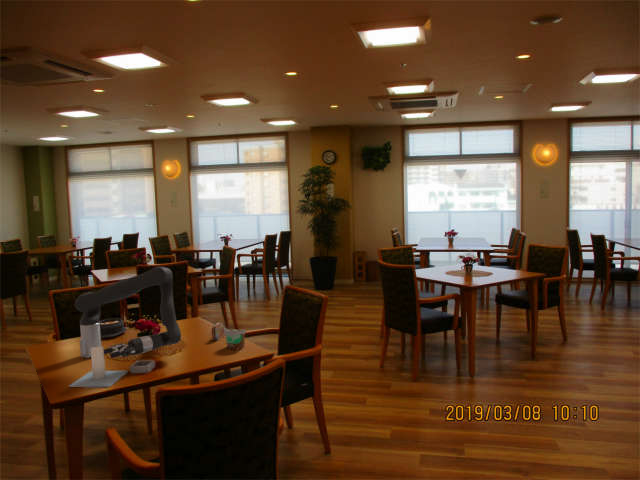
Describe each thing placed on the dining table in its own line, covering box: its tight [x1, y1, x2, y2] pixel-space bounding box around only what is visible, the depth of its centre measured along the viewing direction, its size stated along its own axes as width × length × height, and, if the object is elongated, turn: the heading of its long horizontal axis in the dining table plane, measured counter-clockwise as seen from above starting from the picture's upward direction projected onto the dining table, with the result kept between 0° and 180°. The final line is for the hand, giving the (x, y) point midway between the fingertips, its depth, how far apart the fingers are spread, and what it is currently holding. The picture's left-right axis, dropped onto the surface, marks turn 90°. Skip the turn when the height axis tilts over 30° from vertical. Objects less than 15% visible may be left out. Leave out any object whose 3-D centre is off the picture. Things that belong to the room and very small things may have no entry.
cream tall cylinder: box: [90, 345, 106, 380], centre depth 224 cm, size 5×5×14 cm
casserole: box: [99, 317, 128, 339], centre depth 300 cm, size 25×19×8 cm
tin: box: [211, 321, 227, 341], centre depth 284 cm, size 15×3×8 cm, turn 168°
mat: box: [68, 370, 129, 388], centre depth 224 cm, size 18×18×1 cm
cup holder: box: [129, 359, 156, 374], centre depth 235 cm, size 9×9×3 cm
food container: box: [224, 327, 246, 350], centre depth 262 cm, size 12×6×10 cm, turn 68°
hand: (106, 354), depth 226 cm, fingers open, 8 cm apart
